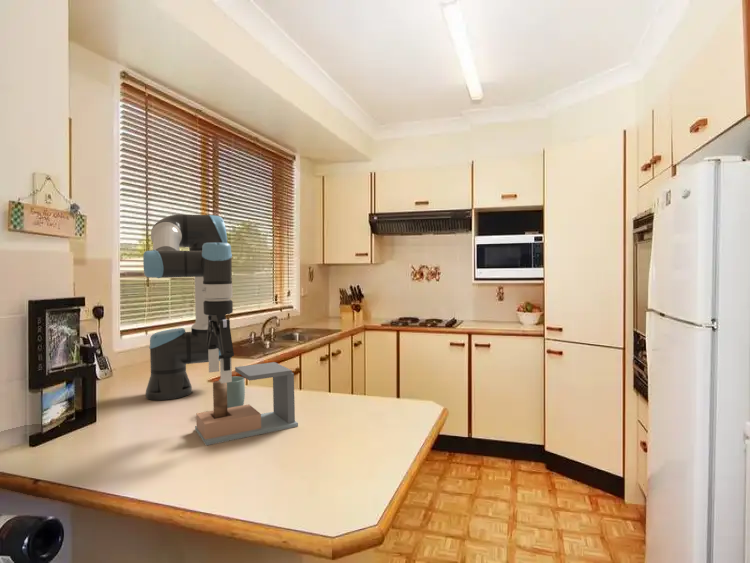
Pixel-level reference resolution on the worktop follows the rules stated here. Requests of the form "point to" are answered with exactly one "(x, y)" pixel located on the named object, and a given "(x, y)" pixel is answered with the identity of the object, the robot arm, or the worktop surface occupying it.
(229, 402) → the cup
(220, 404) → the peg
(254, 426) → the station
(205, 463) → the worktop surface
